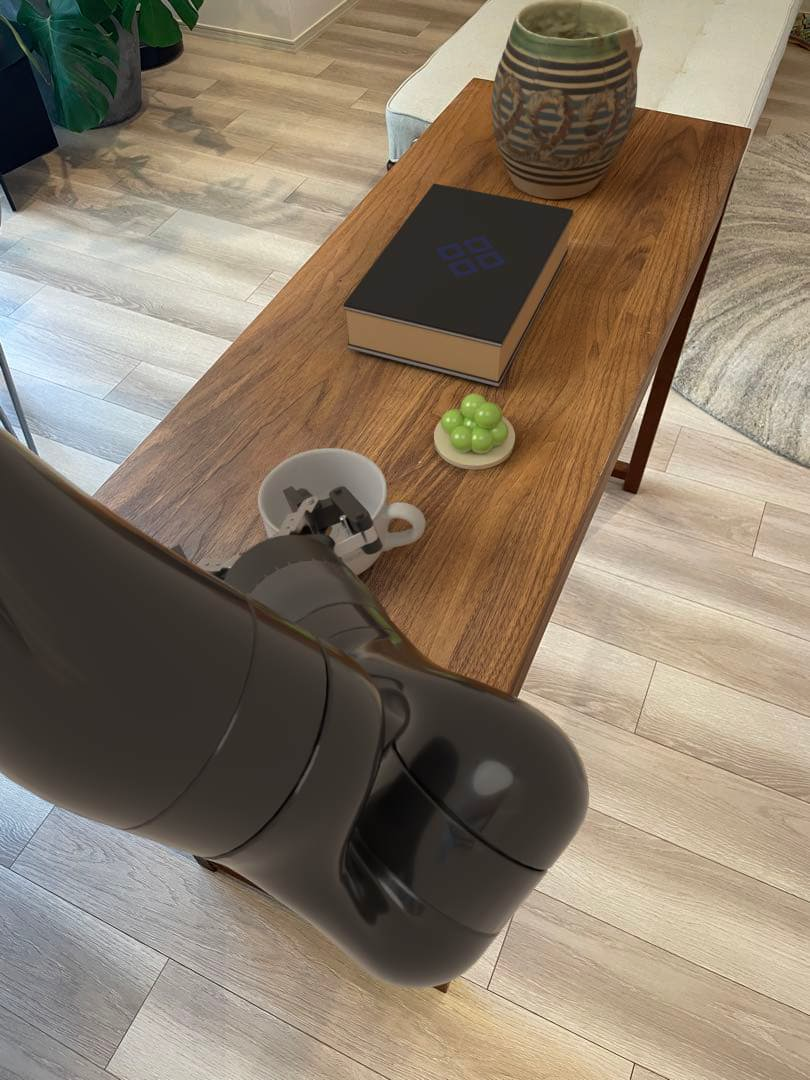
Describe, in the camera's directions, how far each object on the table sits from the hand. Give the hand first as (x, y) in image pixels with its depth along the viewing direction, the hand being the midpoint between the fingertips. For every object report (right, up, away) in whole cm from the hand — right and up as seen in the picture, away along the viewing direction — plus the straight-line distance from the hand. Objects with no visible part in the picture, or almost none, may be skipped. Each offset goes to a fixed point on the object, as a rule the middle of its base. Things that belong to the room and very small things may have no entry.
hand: (236, 528), depth 57 cm
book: (+18, +26, +38) cm, 50 cm away
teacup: (+7, -2, +17) cm, 19 cm away
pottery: (+32, +48, +54) cm, 79 cm away
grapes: (+18, +9, +25) cm, 32 cm away
